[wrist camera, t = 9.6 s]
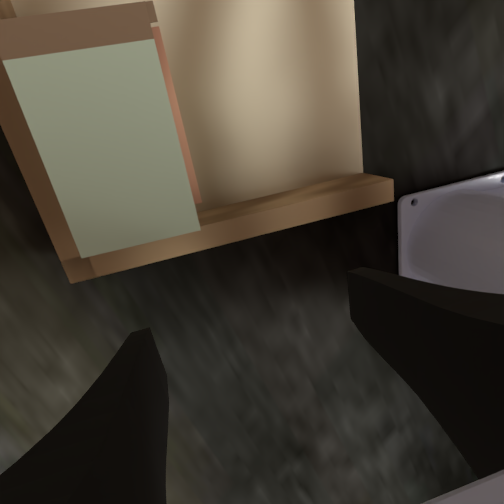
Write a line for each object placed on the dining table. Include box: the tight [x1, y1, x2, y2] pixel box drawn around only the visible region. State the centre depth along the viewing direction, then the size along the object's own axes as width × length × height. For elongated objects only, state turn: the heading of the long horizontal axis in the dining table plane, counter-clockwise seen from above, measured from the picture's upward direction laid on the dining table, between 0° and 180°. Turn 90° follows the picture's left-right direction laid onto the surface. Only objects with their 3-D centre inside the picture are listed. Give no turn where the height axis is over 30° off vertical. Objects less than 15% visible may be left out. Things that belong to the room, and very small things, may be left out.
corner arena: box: [0, 0, 394, 284], centre depth 15 cm, size 17×17×4 cm
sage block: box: [0, 1, 201, 258], centre depth 14 cm, size 8×4×6 cm, turn 10°
